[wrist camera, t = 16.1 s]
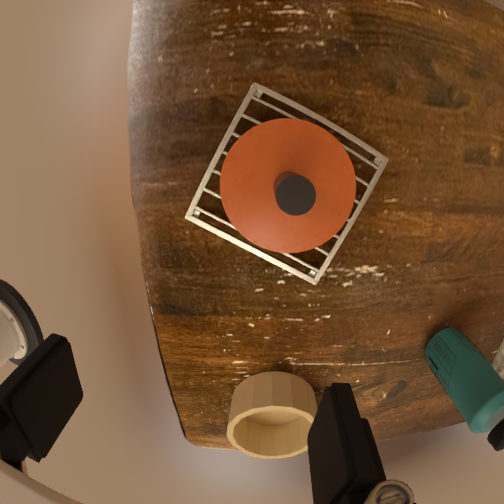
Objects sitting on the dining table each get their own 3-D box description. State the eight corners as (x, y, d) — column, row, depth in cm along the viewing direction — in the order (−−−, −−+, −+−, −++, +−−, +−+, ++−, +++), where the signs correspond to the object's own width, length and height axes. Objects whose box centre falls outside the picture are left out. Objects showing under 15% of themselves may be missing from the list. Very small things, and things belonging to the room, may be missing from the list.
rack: (189, 214, 31) (184, 218, 29) (255, 86, 27) (254, 81, 25) (313, 278, 33) (315, 285, 31) (382, 158, 28) (389, 159, 26)
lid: (215, 240, 30) (196, 269, 22) (230, 111, 26) (215, 94, 18) (339, 257, 30) (361, 291, 22) (361, 133, 26) (394, 125, 18)
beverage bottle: (412, 341, 35) (480, 452, 16) (450, 310, 33) (535, 405, 14) (428, 366, 36) (486, 468, 17) (462, 338, 34) (534, 428, 15)
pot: (229, 421, 40) (224, 453, 34) (236, 365, 37) (231, 400, 31) (304, 428, 40) (306, 460, 34) (324, 375, 37) (331, 409, 31)
